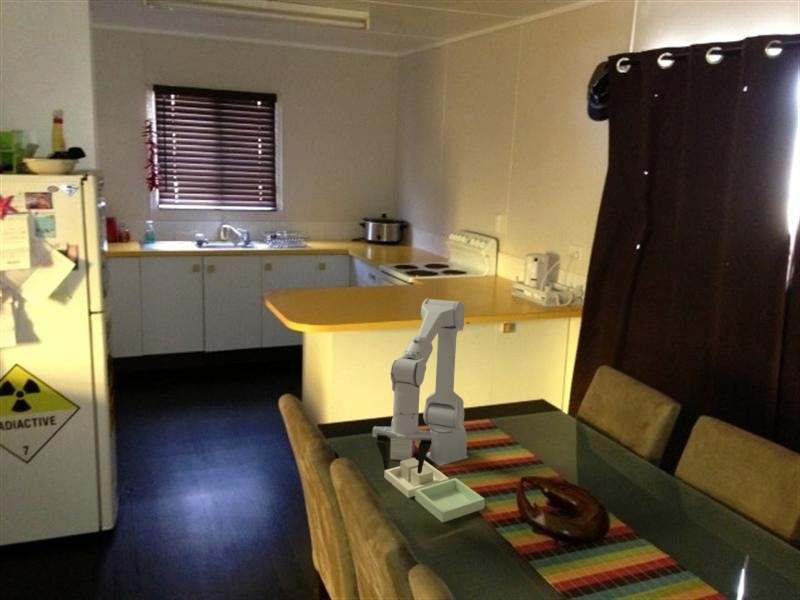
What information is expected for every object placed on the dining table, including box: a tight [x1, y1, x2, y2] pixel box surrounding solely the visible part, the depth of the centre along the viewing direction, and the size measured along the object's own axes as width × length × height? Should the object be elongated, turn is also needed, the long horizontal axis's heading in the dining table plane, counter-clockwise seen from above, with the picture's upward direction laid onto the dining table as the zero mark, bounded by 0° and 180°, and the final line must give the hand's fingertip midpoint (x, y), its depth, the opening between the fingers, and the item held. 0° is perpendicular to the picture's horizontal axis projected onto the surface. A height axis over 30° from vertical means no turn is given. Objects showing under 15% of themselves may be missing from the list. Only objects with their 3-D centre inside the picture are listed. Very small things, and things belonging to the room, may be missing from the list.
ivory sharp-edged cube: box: [411, 466, 433, 487], centre depth 168 cm, size 4×4×4 cm
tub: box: [414, 477, 485, 523], centre depth 160 cm, size 12×12×3 cm
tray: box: [384, 460, 450, 499], centre depth 170 cm, size 12×12×2 cm
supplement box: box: [390, 418, 416, 461], centre depth 183 cm, size 6×6×12 cm
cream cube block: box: [399, 457, 419, 483], centre depth 172 cm, size 4×4×4 cm
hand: (403, 470), depth 155 cm, fingers open, 7 cm apart
